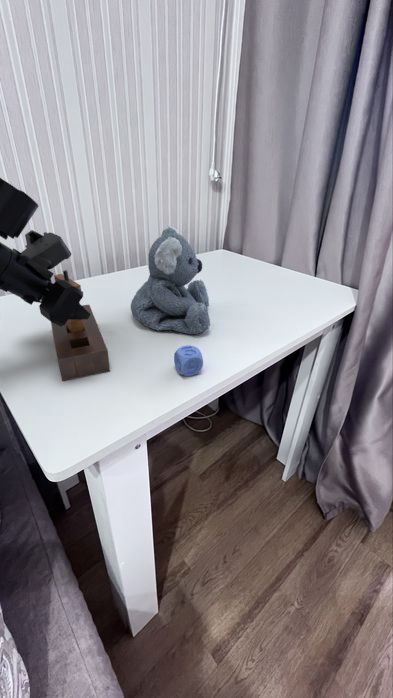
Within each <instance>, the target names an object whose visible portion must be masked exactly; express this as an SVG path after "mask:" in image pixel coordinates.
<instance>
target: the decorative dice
mask: <svg viewBox="0 0 393 698" xmlns="http://www.w3.org/2000/svg"><path fill="white" fill-rule="evenodd" d="M173 362H174V366H175V369H176V371H177V373H179V375H181V376H184V377H192V376H196V375H197V374H199V373H200V372H201V370H202V369H203V367H204V357H203V354H202V352H201V349H199V348H198V347H197V346H195V345H191V344H190V345H189V344H187V345H182V346H180V347H178V348H177V349H176V350H175V352H174V355H173Z"/></svg>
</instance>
